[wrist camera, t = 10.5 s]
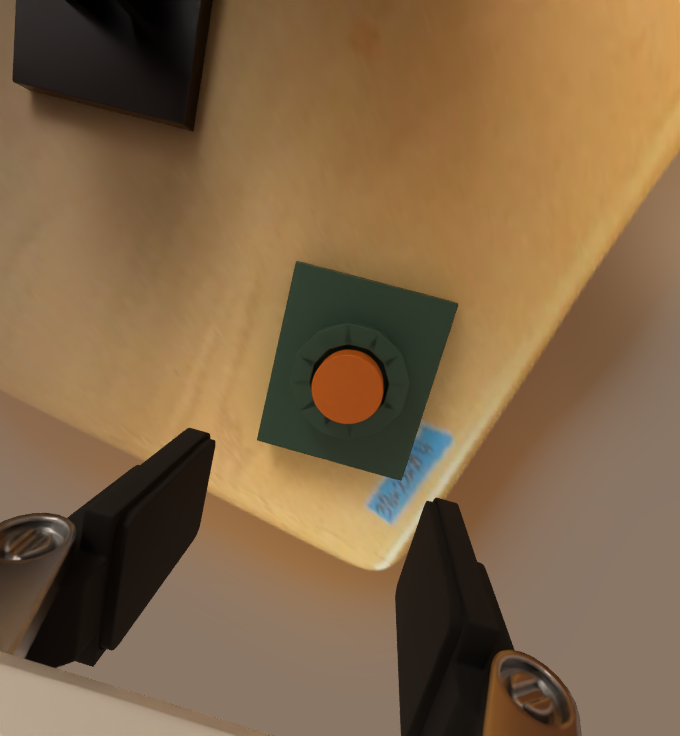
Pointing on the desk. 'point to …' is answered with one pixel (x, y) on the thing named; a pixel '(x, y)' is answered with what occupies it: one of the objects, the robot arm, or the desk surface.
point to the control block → (362, 333)
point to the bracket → (115, 54)
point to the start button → (348, 387)
